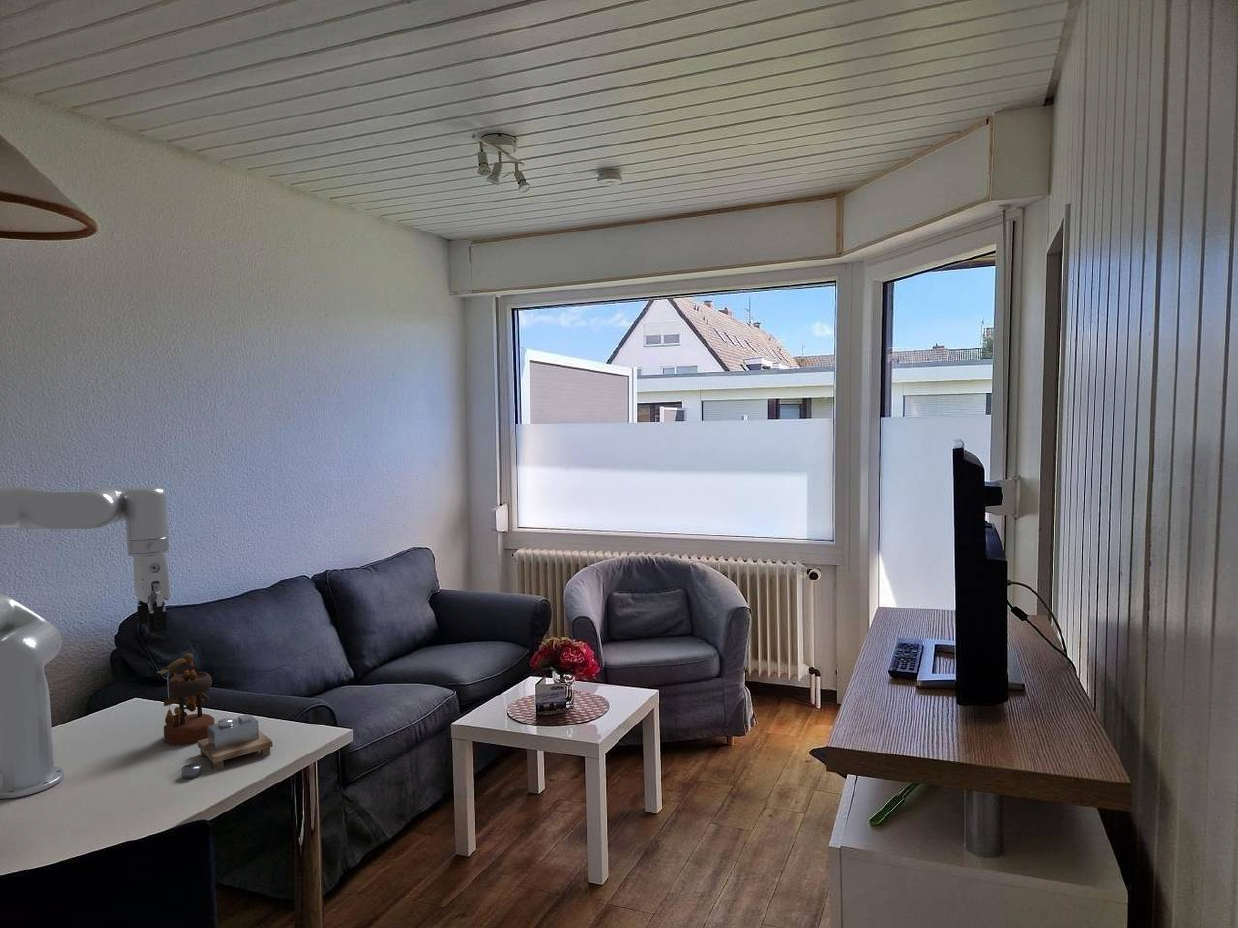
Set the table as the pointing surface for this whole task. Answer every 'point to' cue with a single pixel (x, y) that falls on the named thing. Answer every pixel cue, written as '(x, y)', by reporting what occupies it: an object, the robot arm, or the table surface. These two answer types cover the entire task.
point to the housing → (233, 732)
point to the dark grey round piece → (191, 771)
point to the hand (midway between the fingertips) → (152, 627)
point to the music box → (186, 685)
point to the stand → (235, 750)
